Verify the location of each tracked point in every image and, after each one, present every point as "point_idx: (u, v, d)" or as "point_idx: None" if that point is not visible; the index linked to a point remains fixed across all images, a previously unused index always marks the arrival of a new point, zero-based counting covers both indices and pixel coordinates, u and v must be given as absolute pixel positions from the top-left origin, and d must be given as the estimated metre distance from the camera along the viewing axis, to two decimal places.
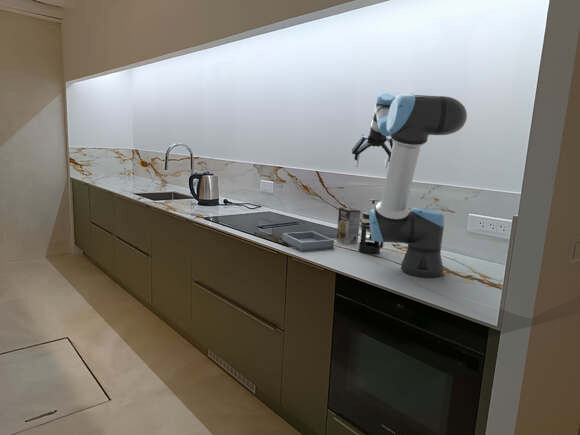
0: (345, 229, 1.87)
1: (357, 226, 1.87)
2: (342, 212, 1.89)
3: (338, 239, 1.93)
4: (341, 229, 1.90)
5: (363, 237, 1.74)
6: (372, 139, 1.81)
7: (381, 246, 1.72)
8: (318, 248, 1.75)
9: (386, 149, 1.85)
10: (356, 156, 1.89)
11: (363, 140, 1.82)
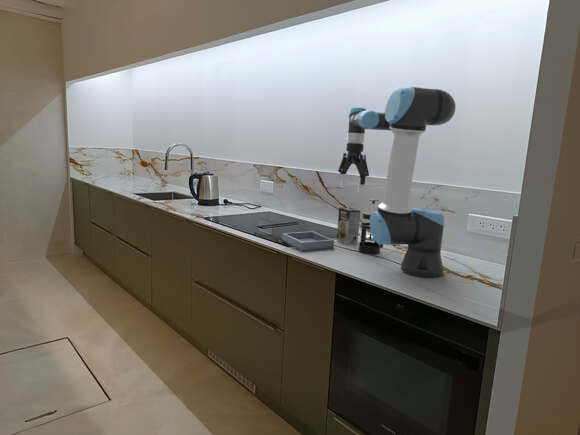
0: (345, 229, 1.87)
1: (357, 226, 1.87)
2: (342, 212, 1.89)
3: (338, 239, 1.93)
4: (341, 229, 1.90)
5: (363, 237, 1.74)
6: (349, 154, 1.86)
7: (381, 246, 1.72)
8: (318, 248, 1.75)
9: (358, 167, 1.81)
10: None
11: (344, 156, 1.90)
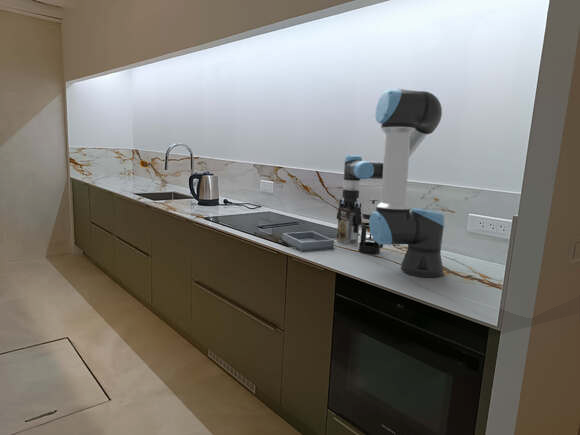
0: (345, 229, 1.87)
1: None
2: (342, 212, 1.89)
3: (338, 239, 1.93)
4: (341, 229, 1.90)
5: (363, 237, 1.74)
6: (345, 200, 1.90)
7: (381, 246, 1.72)
8: (318, 248, 1.75)
9: None
10: None
11: (340, 202, 1.93)
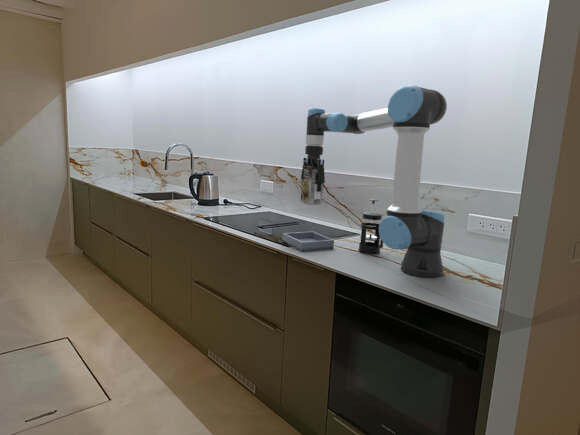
0: (308, 188, 1.75)
1: (321, 185, 1.75)
2: (305, 170, 1.77)
3: (302, 200, 1.81)
4: (304, 189, 1.78)
5: (363, 237, 1.74)
6: (308, 157, 1.78)
7: (381, 246, 1.72)
8: (318, 248, 1.75)
9: None
10: None
11: (304, 160, 1.81)
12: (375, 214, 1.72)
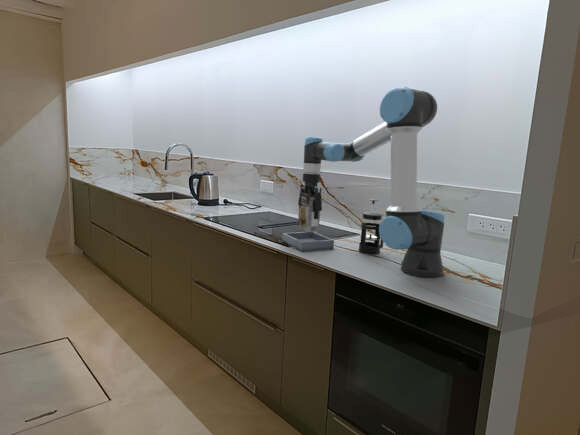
0: (305, 215, 1.77)
1: (318, 212, 1.77)
2: (303, 197, 1.78)
3: (299, 226, 1.83)
4: (301, 216, 1.80)
5: (363, 237, 1.74)
6: (306, 184, 1.80)
7: (381, 246, 1.72)
8: (318, 248, 1.75)
9: None
10: None
11: (301, 187, 1.83)
12: (375, 214, 1.72)
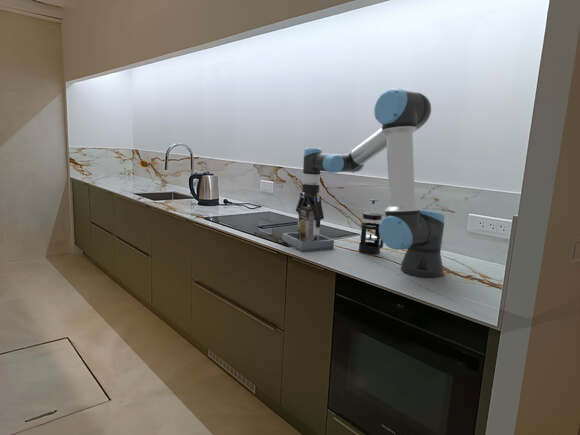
0: (305, 229, 1.77)
1: None
2: (302, 211, 1.79)
3: (299, 239, 1.84)
4: (301, 229, 1.81)
5: (363, 237, 1.74)
6: (305, 195, 1.80)
7: (381, 246, 1.72)
8: (318, 248, 1.75)
9: (313, 209, 1.75)
10: None
11: (300, 195, 1.84)
12: (375, 214, 1.72)
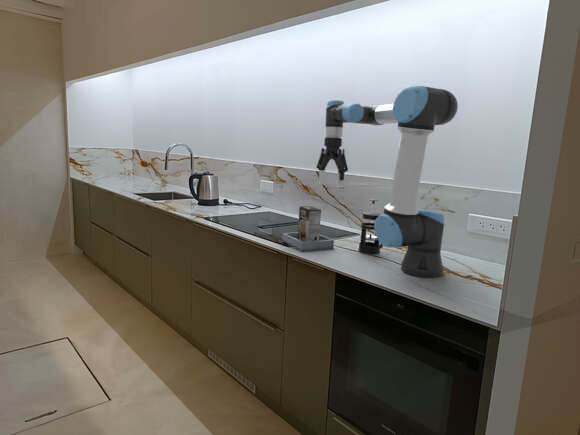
0: (305, 229, 1.77)
1: (318, 226, 1.78)
2: (302, 211, 1.79)
3: (299, 239, 1.84)
4: (301, 229, 1.81)
5: (363, 237, 1.74)
6: (327, 150, 1.79)
7: (381, 246, 1.72)
8: (318, 248, 1.75)
9: (336, 162, 1.74)
10: (320, 172, 1.85)
11: (322, 151, 1.82)
12: (375, 214, 1.72)
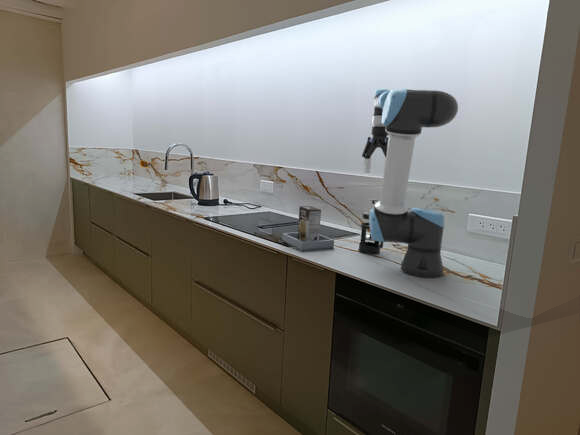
0: (305, 229, 1.77)
1: (318, 226, 1.78)
2: (302, 211, 1.79)
3: (299, 239, 1.84)
4: (301, 229, 1.81)
5: (363, 237, 1.74)
6: (374, 138, 1.84)
7: (381, 246, 1.72)
8: (318, 248, 1.75)
9: (384, 150, 1.78)
10: None
11: (368, 140, 1.87)
12: None
